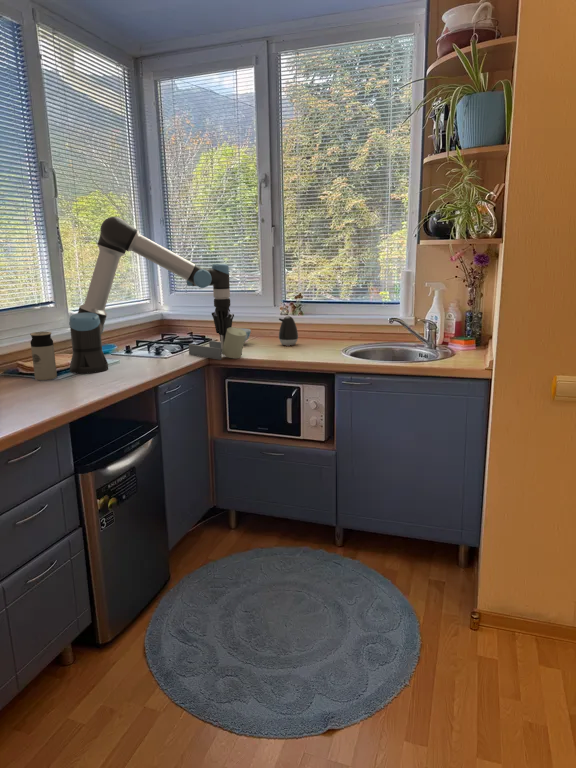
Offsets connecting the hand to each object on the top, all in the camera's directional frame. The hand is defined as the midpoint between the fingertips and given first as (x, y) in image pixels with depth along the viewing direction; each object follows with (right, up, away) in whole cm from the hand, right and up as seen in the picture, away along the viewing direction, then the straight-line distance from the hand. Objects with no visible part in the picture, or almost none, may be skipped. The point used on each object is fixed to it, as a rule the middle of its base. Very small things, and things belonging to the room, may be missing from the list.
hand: (224, 348), depth 253 cm
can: (+4, -3, -3) cm, 5 cm away
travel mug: (-65, -15, -42) cm, 79 cm away
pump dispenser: (+30, +4, +30) cm, 43 cm away
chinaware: (+3, +4, +33) cm, 34 cm away
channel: (-5, -3, +4) cm, 7 cm away
